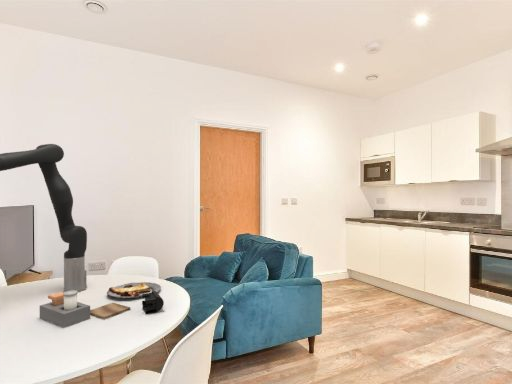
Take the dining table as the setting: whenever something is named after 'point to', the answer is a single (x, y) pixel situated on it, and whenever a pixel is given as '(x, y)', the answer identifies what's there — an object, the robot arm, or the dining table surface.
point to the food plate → (133, 290)
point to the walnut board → (108, 310)
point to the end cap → (152, 302)
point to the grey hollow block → (64, 314)
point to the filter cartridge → (70, 300)
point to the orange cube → (57, 298)
